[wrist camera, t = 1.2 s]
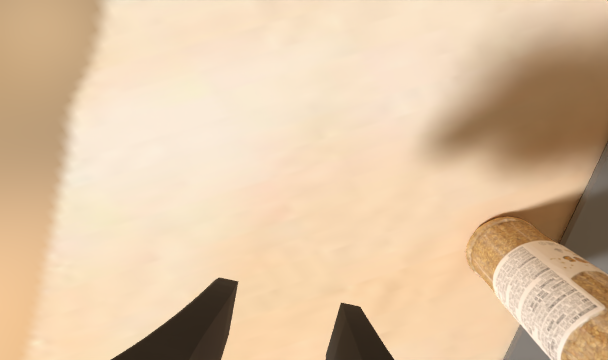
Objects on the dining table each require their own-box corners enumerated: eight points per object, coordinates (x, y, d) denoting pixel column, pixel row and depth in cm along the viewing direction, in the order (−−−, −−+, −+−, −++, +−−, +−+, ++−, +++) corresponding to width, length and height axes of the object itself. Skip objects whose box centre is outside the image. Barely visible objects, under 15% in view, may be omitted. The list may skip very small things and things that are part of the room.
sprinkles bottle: (552, 237, 20) (972, 500, 7) (502, 290, 21) (790, 600, 8) (495, 200, 20) (839, 413, 7) (447, 256, 21) (664, 532, 8)
